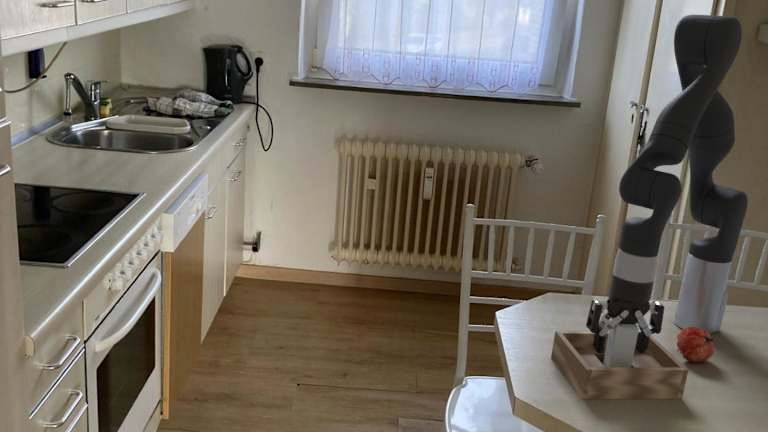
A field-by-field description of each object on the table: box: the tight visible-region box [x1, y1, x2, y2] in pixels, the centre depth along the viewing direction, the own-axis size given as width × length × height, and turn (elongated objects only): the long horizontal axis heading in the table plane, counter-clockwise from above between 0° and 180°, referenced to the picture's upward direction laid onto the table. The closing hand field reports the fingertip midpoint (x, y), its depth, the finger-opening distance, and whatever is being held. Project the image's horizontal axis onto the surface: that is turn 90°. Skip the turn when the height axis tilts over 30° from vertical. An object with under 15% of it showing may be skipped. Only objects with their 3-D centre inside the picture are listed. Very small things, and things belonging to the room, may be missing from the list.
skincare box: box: [603, 318, 640, 367], centre depth 150 cm, size 6×4×12 cm
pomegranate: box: [676, 326, 716, 363], centre depth 162 cm, size 7×7×10 cm
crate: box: [550, 330, 689, 400], centre depth 151 cm, size 20×16×6 cm
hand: (618, 351), depth 150 cm, fingers open, 8 cm apart
